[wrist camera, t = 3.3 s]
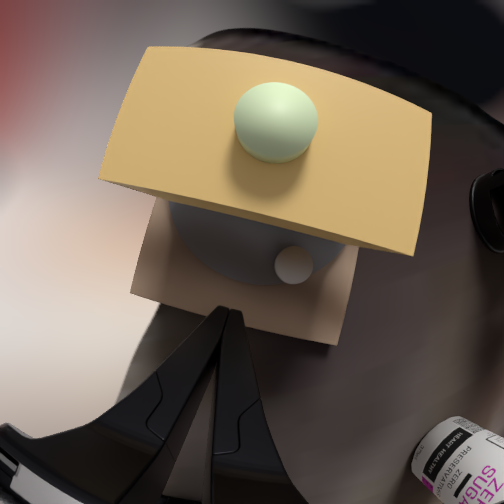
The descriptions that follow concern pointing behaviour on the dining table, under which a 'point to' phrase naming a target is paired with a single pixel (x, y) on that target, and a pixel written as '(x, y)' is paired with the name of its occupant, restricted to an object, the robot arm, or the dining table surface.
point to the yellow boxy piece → (274, 145)
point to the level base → (254, 302)
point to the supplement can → (461, 463)
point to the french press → (487, 209)
